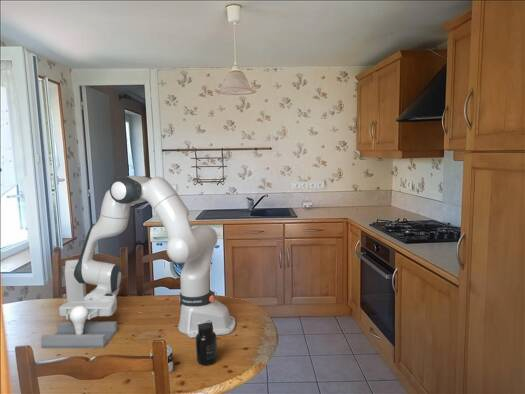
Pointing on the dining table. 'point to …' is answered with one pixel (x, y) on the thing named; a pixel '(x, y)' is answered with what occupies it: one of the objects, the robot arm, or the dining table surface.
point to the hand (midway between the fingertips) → (77, 317)
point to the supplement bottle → (206, 344)
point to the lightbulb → (78, 318)
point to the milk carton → (73, 283)
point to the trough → (91, 337)
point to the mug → (170, 358)
